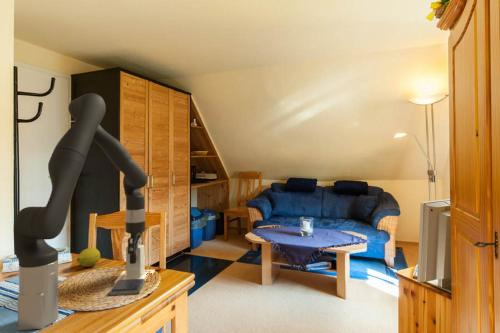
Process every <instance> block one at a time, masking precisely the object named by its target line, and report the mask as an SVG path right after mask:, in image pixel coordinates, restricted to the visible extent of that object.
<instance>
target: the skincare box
mask: <svg viewBox="0 0 500 333" xmlns="http://www.w3.org/2000/svg"><path fill="white" fill-rule="evenodd" d="M131 251H133V249H132V250H131ZM125 263H126V264H125V268H126V270H125V271H126V277H142V276H143V275H144V274H145V270H146V268H145V244H142V245H139V246H138V249H137V251H136V263H135V264H130V254H128V246H126V248H125Z"/></svg>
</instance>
